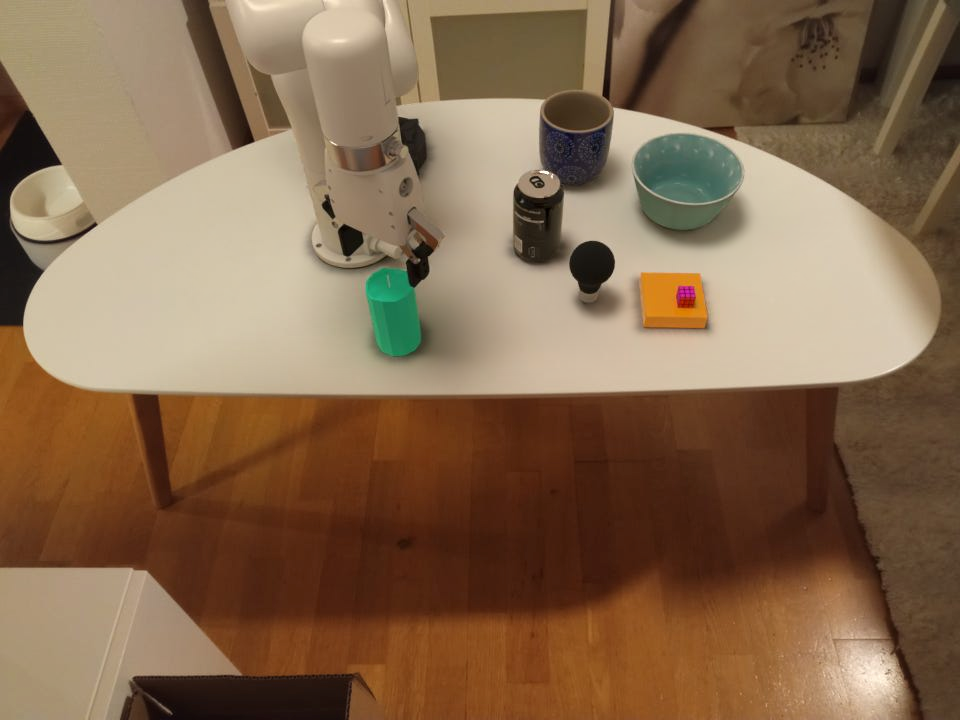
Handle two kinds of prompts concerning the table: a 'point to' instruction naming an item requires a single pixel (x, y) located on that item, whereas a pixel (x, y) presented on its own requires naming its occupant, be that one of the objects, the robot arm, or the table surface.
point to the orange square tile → (672, 300)
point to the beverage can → (537, 215)
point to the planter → (575, 135)
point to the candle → (393, 311)
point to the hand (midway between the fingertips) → (386, 264)
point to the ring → (413, 140)
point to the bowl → (685, 178)
